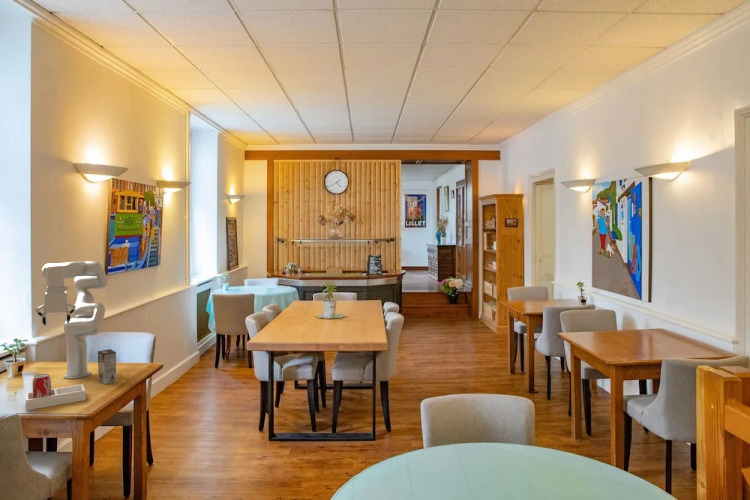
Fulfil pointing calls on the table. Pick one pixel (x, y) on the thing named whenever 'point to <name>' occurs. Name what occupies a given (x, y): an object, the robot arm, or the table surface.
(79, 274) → the robot arm
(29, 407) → the divided tray
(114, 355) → the coffee box
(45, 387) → the soda can
